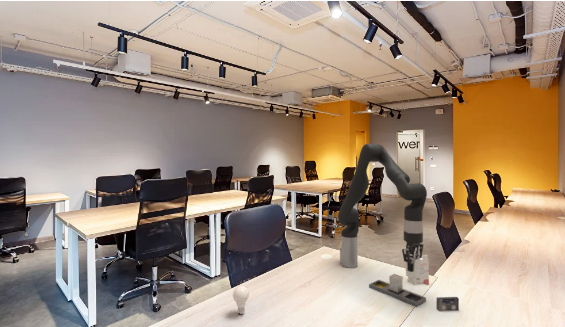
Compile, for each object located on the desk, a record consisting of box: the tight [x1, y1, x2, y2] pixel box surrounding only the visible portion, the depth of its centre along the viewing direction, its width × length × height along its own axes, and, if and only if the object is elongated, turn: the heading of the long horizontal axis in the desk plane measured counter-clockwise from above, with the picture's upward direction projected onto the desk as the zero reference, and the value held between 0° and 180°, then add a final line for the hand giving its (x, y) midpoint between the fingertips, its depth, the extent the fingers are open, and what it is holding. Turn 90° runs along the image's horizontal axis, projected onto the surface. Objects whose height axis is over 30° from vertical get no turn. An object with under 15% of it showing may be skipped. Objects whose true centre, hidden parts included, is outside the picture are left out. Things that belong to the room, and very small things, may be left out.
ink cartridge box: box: [407, 254, 430, 286], centre depth 138 cm, size 9×5×15 cm, turn 105°
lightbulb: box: [232, 285, 250, 315], centre depth 113 cm, size 6×6×11 cm
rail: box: [368, 279, 427, 308], centre depth 126 cm, size 23×8×2 cm, turn 37°
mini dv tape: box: [435, 296, 460, 312], centre depth 113 cm, size 8×2×6 cm, turn 92°
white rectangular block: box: [405, 257, 420, 279], centre depth 120 cm, size 4×4×8 cm
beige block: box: [388, 273, 404, 295], centre depth 126 cm, size 4×4×8 cm
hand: (413, 269), depth 120 cm, fingers closed on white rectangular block, 4 cm apart
